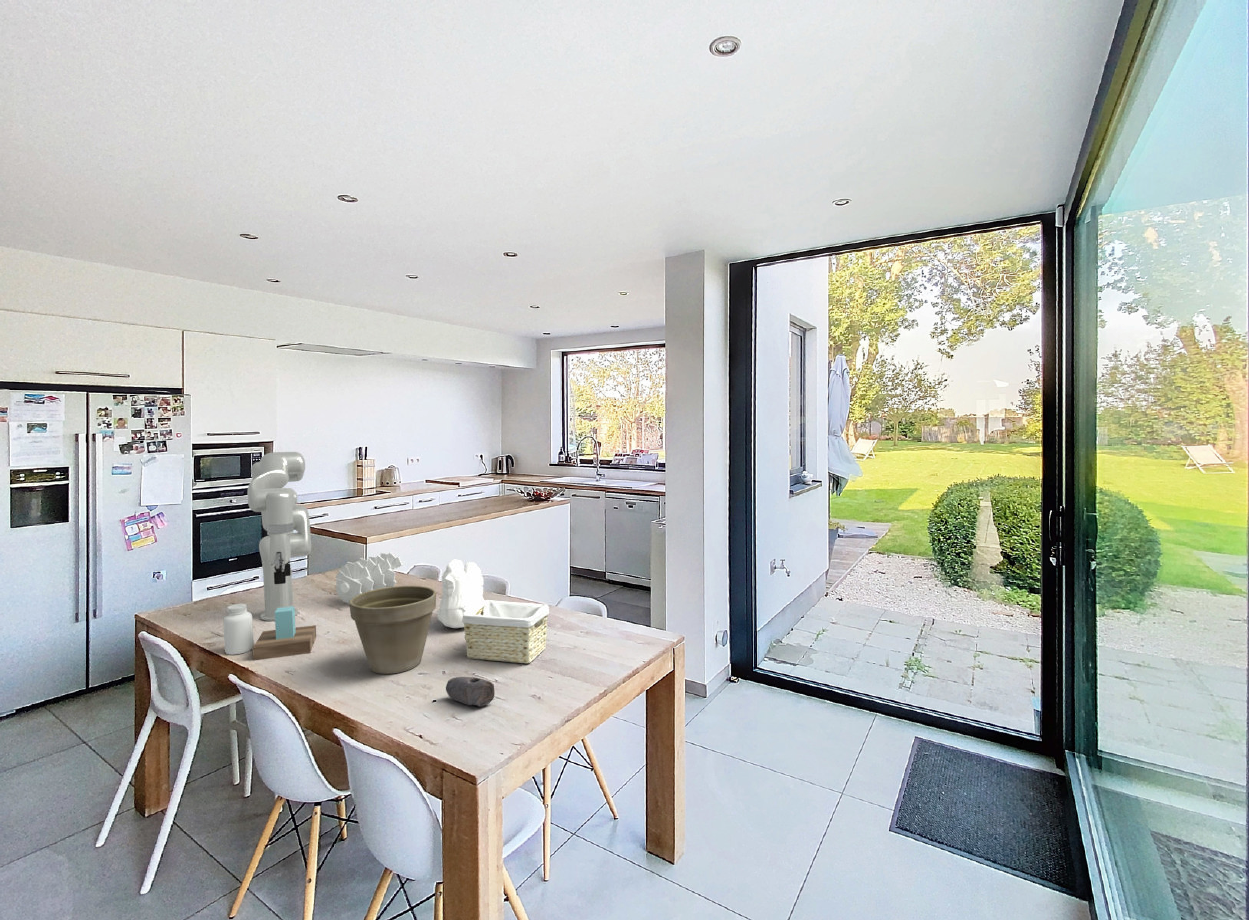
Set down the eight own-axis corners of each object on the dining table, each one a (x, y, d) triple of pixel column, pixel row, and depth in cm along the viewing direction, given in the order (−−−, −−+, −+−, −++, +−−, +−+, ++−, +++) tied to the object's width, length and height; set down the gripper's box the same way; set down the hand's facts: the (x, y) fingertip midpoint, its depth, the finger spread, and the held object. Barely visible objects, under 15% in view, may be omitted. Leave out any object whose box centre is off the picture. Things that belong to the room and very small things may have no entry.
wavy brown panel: (263, 642, 204) (263, 631, 203) (316, 636, 209) (315, 625, 209) (253, 660, 189) (252, 648, 188) (310, 653, 194) (309, 641, 194)
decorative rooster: (462, 636, 208) (460, 566, 206) (427, 630, 215) (425, 561, 213) (505, 615, 231) (504, 551, 229) (473, 609, 237) (471, 547, 236)
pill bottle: (223, 657, 191) (220, 611, 190) (226, 648, 199) (224, 604, 198) (252, 652, 195) (250, 607, 194) (254, 644, 202) (252, 600, 201)
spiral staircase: (338, 615, 245) (383, 595, 268) (366, 601, 238) (411, 582, 261) (320, 574, 246) (367, 557, 269) (348, 559, 239) (394, 543, 262)
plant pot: (374, 648, 198) (372, 584, 196) (448, 649, 197) (447, 584, 195) (335, 681, 173) (332, 608, 171) (420, 682, 172) (418, 608, 171)
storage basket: (460, 659, 189) (459, 613, 188) (486, 641, 204) (485, 598, 203) (530, 667, 182) (530, 619, 181) (551, 647, 198) (550, 603, 197)
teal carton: (278, 634, 200) (277, 608, 200) (295, 632, 202) (294, 606, 201) (275, 639, 196) (274, 612, 195) (293, 637, 197) (292, 610, 197)
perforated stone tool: (440, 700, 161) (439, 675, 160) (454, 693, 165) (453, 668, 165) (483, 713, 154) (482, 686, 153) (496, 704, 158) (496, 679, 158)
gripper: (272, 524, 204) (274, 574, 205) (261, 534, 188) (264, 588, 189) (297, 523, 207) (299, 572, 208) (289, 533, 191) (291, 585, 192)
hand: (282, 579), depth 199 cm, fingers open, 9 cm apart
